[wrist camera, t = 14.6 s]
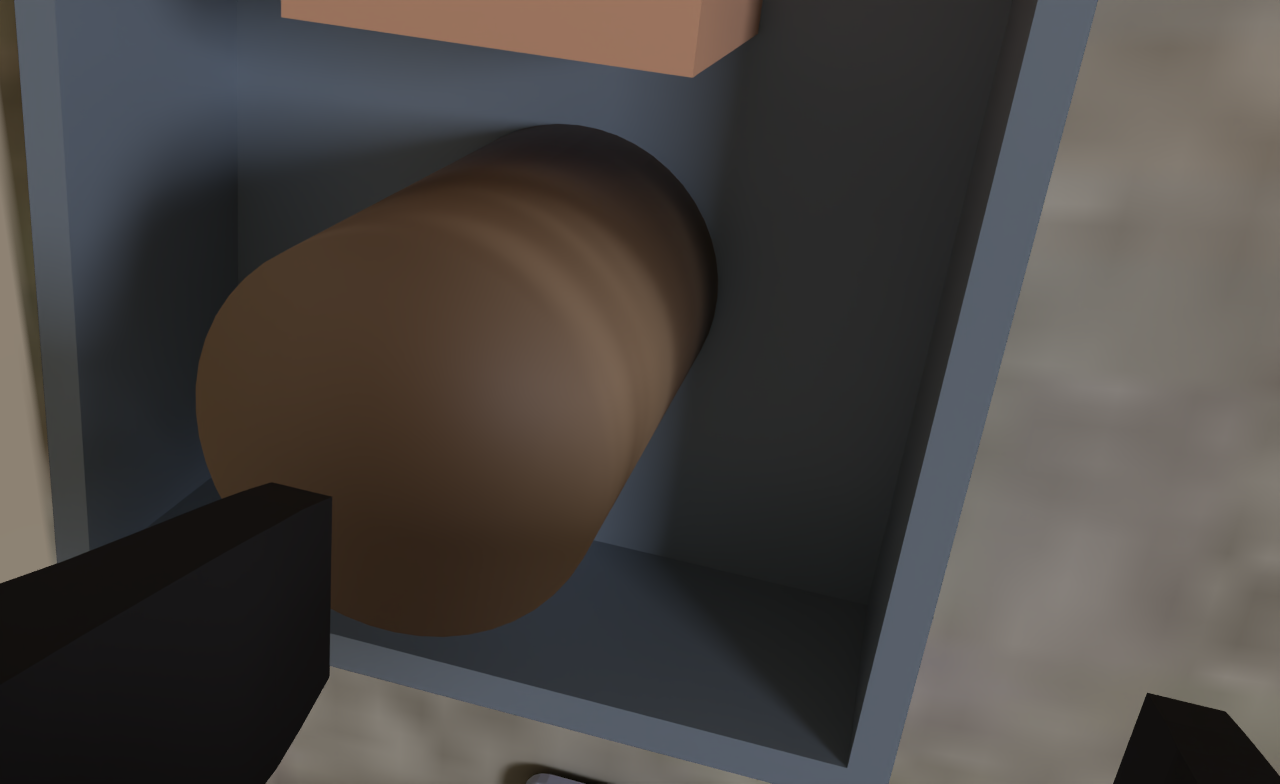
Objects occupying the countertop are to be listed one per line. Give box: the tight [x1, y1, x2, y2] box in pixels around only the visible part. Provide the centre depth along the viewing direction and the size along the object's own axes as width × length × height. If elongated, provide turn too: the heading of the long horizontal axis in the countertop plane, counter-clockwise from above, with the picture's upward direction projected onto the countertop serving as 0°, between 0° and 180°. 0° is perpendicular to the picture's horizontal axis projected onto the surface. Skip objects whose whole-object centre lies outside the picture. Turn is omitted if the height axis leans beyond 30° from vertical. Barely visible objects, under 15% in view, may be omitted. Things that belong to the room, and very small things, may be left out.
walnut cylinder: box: [196, 124, 718, 637], centre depth 17 cm, size 5×5×7 cm
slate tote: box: [14, 0, 1098, 784], centre depth 17 cm, size 17×13×5 cm
